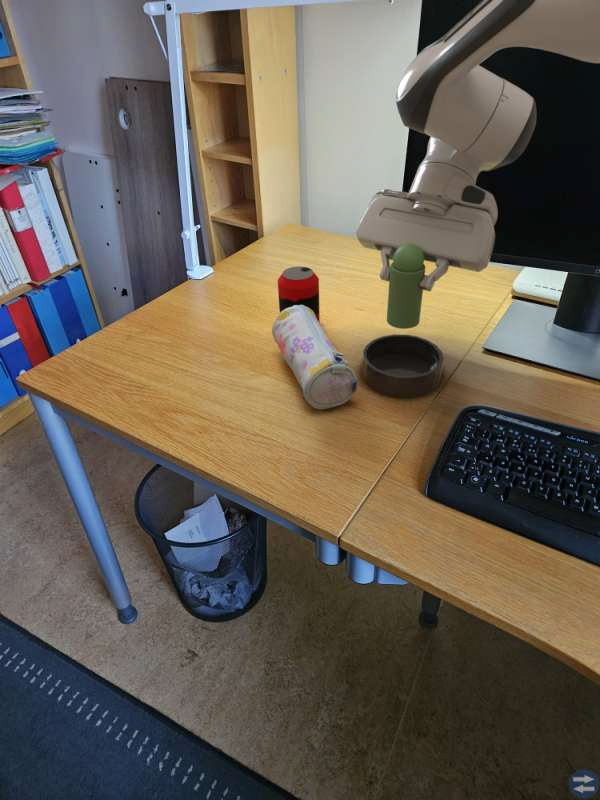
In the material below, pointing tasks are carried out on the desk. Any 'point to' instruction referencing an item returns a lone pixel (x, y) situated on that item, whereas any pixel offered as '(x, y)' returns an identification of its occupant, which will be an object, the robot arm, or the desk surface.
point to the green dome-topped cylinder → (405, 287)
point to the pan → (402, 365)
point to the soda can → (299, 289)
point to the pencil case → (313, 358)
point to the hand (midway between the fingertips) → (404, 284)
